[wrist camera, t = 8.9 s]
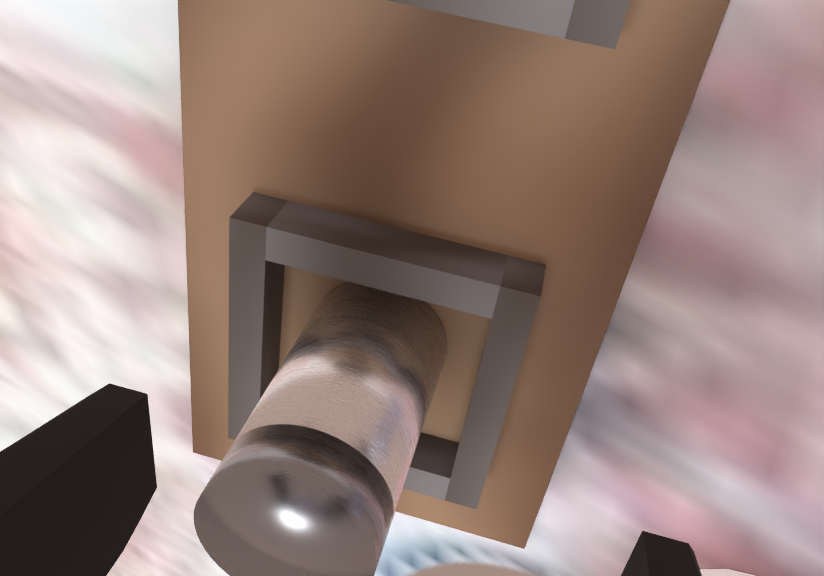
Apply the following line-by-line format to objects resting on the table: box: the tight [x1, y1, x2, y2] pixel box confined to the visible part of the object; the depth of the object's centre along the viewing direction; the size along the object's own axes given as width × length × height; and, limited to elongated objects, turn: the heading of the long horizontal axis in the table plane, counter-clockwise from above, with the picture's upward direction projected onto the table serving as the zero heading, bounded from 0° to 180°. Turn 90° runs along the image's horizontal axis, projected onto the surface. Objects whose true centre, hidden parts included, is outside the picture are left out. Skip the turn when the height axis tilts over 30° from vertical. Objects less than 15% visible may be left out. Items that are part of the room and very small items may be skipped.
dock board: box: [178, 0, 730, 549], centre depth 18 cm, size 12×28×2 cm, turn 171°
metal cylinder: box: [194, 282, 447, 576], centre depth 19 cm, size 4×4×8 cm
